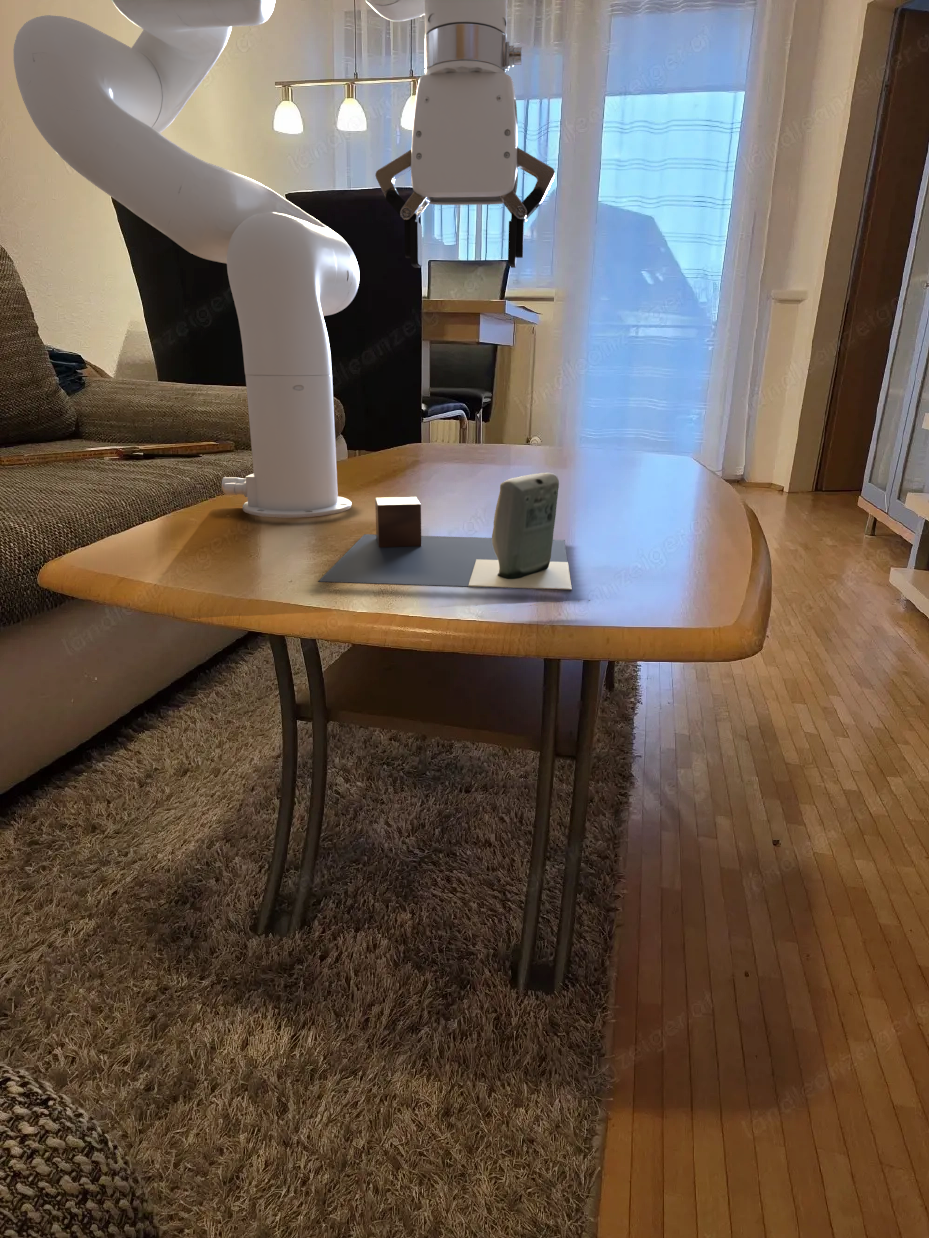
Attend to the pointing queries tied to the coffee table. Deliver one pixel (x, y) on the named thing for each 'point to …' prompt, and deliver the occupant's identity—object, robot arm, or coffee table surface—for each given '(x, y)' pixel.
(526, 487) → the grey charger brick
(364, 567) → the mat
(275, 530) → the coffee table surface
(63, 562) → the coffee table surface
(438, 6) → the robot arm
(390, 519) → the walnut block
